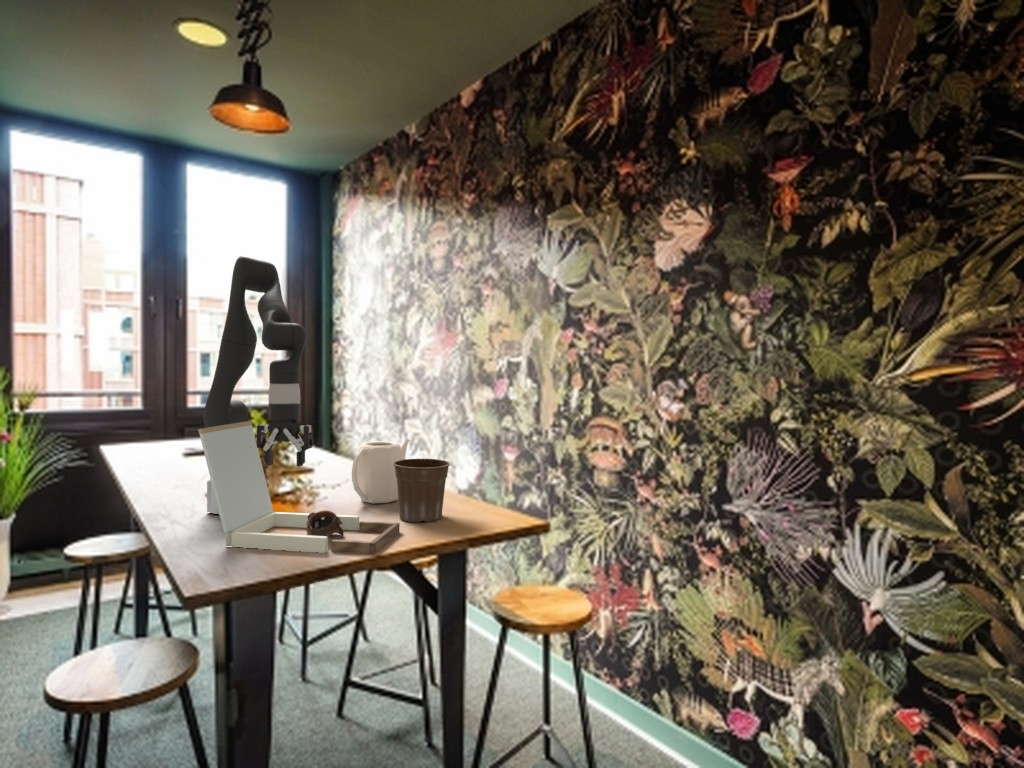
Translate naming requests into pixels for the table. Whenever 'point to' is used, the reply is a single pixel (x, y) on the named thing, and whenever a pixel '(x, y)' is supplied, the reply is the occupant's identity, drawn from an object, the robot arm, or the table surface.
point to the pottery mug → (324, 524)
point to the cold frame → (252, 494)
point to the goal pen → (366, 546)
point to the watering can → (377, 470)
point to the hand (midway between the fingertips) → (284, 465)
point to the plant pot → (421, 488)
